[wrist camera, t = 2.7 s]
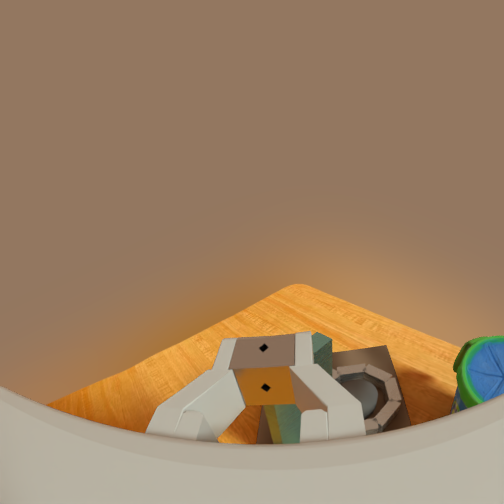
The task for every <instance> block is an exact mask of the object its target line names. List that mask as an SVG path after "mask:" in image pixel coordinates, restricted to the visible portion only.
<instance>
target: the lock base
mask: <svg viewBox="0 0 504 504" xmlns="http://www.w3.org/2000/svg"><path fill="white" fill-rule="evenodd" d="M358 364H365V366H367V365H368V364H370V365H372V366H374V367H376V368H378V369H381V370H383V371H385V372H387V373H389V374H392V378H394V377H395V379H396V383H397V386H398V389H399V392H400V396H401V399H402V400H401V405H400V408H399V411H398V413H397V414H396V415H395V417H394V418H393V419H392V420H391V422H390V423H389V424H388V425H387V427H386V428H385V429H384V430H383V431H382V432H381V433H383V432H388V431H392V430H397V429H401V428H405V427H409V426H411V422H410V419H409V415H408V412H407V408H406V405H405V401H404V398H403V395H402V391H401V388H400V385H399V382H398V379H397V375H396V372H395V369H394V366H393V363H392V360H391V358H390V355H389V352H388V349H387V346H386V345H384V346H378V347H371V348H365V349H358V350H350V351H342V352H334V353H332V369H335V370H336V371H337V367H343V366H350V365H358ZM340 385H341V386H342V387H344V388H345V389H346V390H347V391H348V392H349V393H350V394H351V395H353V396H354V397H355V398H356V399H357V400H358V401H359V402H361V405H362V411H363V418H364V420H366V419H372V418H374V417H375V416H376V415H377V414H378V413H379V412H380V411H381V409H382V408H383V407H384V406H385V405H386V402H385V398H384V394H383V390H381V389H379V388H377V387H375V386H374V385H373V384H371V383H370V382H368V381H365V380H350V381H347V382H345V383H343V384H340ZM377 433H378V432H377ZM256 444H274V443H273V440H272V436H271V432H270V428H269V425H268V421H267V417H266V413H265V410H264V406H263V405H262V410H261V416H260V423H259V429H258V436H257V442H256Z"/></svg>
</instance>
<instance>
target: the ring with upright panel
mask: <svg viewBox="0 0 504 504" xmlns="http://www.w3.org/2000/svg"><path fill="white" fill-rule="evenodd" d="M312 345H313V355H314V364H318V365H319V366H320V367H321V368H322V369H324V370H325V371H326V372H327V373H328V374H329V375H330V376H331V377H332V378H334V379H335V380H336V381H337V382H338V383H339V384H343V383H345V382H347V381H350V380H365V381H368V382H370V383H371V384H373V385H374V386H375V387H377V388H379V389H381V390H383V394H384V398H385V402H386V405H385V406H384V407H383V408H382V409H381V411H380V412H379V413H378V414H377V415H376V416H375V417H374V418H372V419H366V420H364V424H365V431H366V435H372V434H377V432H378V433H381V432H382V431H383V430H384V429H385V428H386V427H387V425H388V424H389V423H390V422H391V420H392V419H393V418H394V417H395V415H396V414H397V413H398V411H399V408H400V405H401V400H402V399H401V396H400V392H399V389H398V386H397V383H396V379H395V377H394V378H392V374H389V373H387V372H385V371H383V370H381V369H378V368H376V367H374V366H372V365H370V364H368V365H367V366H365V364H358V365H350V366H343V367H337V371H336V370H335V369H332V339H331V338H329V337H327V336H325V335H323V334H320V333H318V332H316V333H315V334H314V335H312ZM263 406H264V410H265V413H266V417H267V421H268V425H269V428H270V432H271V436H272V440H273V443H274V444H295V443H300V430H301V414H302V413H301V411H300V410H299V409H298V407H297V406H296V404H279V405H263Z"/></svg>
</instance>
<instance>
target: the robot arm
mask: <svg viewBox="0 0 504 504" xmlns="http://www.w3.org/2000/svg"><path fill="white" fill-rule="evenodd" d="M279 404H296V406H297V407H298V409H299V410H300V411H301V413H302V414H301V430H300V443H295V444H228V443H219V442H218V440H217V438H218V437H219V436H220V435H221V434H222V433H223V432H224V431H225V430H226V428H227V427H228V426H229V425H230V424H231V423H232V422H233V421H234V420H235V419H236V417H237V416H238V415H239V414H240V413H241V412H242V411H243V410H244V408H245V406H255V405H279ZM0 504H504V394H501V395H499V396H497V397H495V398H492V399H490V400H488V401H485V402H483V403H480V404H478V405H475V406H473V407H470V408H468V409H465V410H462V411H459V412H456V413H454V414H451V415H448V416H445V417H441V418H438V419H435V420H431V421H428V422H424V423H421V424H417V425H413V426H409V427H405V428H401V429H397V430H392V431H388V432H383V433H377V434H372V435H366V431H365V424H364V418H363V411H362V405H361V402H359V401H358V400H357V399H356V398H355V397H354V396H353V395H351V394H350V393H349V392H348V391H347V390H346V389H345V388H344V387H342V386H341V385H340V384H339V383H338V382H337V381H336V380H335V379H334V378H332V377H331V376H330V375H329V374H328V373H327V372H326V371H325V370H324V369H322V368H321V367H320V366H319V365H318V364H314V355H313V345H312V335H311V332H310V331H307V332H299V333H296V334H286V335H276V336H261V337H241V338H224V339H223V340H222V342H221V345H220V348H219V351H218V353H217V356H216V359H215V362H214V365H213V368H212V370H207V371H206V372H204V373H203V374H202V375H200V376H199V377H198V378H196V379H195V380H194V381H192V382H191V383H190V384H188V385H187V386H185V387H184V388H183V389H181V390H180V391H179V392H177V393H176V394H174V395H173V396H172V397H170V398H169V399H168V400H166V401H165V402H163V403H162V404H160V405H159V406H158V407H157V409H156V411H155V413H154V415H153V417H152V419H151V421H150V423H149V425H148V427H147V430H146V432H145V433H140V432H135V431H130V430H126V429H121V428H117V427H113V426H109V425H105V424H101V423H98V422H94V421H91V420H87V419H84V418H81V417H78V416H74V415H71V414H68V413H65V412H62V411H60V410H57V409H54V408H51V407H49V406H46V405H44V404H41V403H38V402H36V401H33V400H31V399H29V398H26V397H24V396H22V395H20V394H17V393H15V392H13V391H11V390H9V389H7V388H5V387H2V386H0Z"/></svg>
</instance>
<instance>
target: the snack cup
mask: <svg viewBox="0 0 504 504" xmlns="http://www.w3.org/2000/svg"><path fill="white" fill-rule="evenodd" d="M453 370H454V372H457V376H456V377H457V384H458V387H457V390H456V394H455V397H454V402H453V405H452V408H451V412H450V415H451V414H454V413H456V412H459V411H462V410H465V409H468V408H470V407H473V406H475V405H478V404H480V403H483V402H485V401H488V400H490V399H492V398H495V397H497V396H499V395H501V394H504V336H492V337H479V338H476V339H473V340H470V341H468V342H467V343H465V345H464V346H463V347H462V349H461V350H460V352H459V354H458V356H457V358H456V360H455V362H454V365H453Z"/></svg>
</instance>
